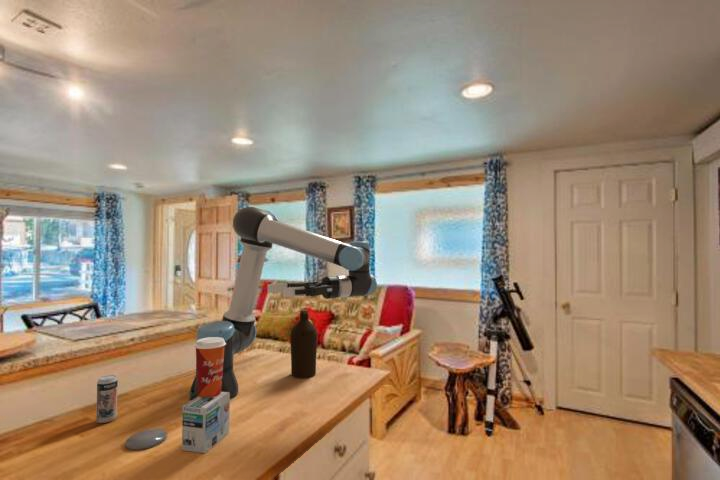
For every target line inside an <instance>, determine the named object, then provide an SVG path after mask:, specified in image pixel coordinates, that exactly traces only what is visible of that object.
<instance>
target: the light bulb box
mask: <svg viewBox="0 0 720 480" xmlns="http://www.w3.org/2000/svg"><path fill="white" fill-rule="evenodd" d="M230 401H231V399H230V393H229V392H221V393H220V394H219V395H218V396H215V397H211V398H200V397H199V396H198V397H197V398H195V399H193V400H189V401H188V402H186V403H185V404H183V405H182V424H181V426H182V428H181V429H182V430H181V451H186V452H187V451H188V452H194V453H199V454H200V453H201V454H206V453H207V452H208V451H210V450H211V449H212V448H213V447H214V446H215V445H217V444H218V443H219V442H220V441H222V440H223V439H224V438H226V436H228V435H229V434H230V409H231V405H230V404H231V402H230Z"/></svg>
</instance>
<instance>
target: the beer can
mask: <svg viewBox="0 0 720 480" xmlns="http://www.w3.org/2000/svg"><path fill="white" fill-rule="evenodd" d="M118 381H119V380H118V378H117V376H116V375H113V374H112V375H111V374H110V375H105V376H101V377H100V378H99V379H98V381H97V383H96V407H95V408H96V413H95V414H96V415H95V418H96V419H95V421H96V422H95V423H99V424H107V423H110V422H112V421H114V420H115V419H116V418H117V417H118V416H117V414H118V413H117V411H118V384H119V382H118Z"/></svg>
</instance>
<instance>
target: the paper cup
mask: <svg viewBox="0 0 720 480" xmlns="http://www.w3.org/2000/svg"><path fill="white" fill-rule="evenodd" d="M225 345H226V343H225V341H224V339H223V338H221V337H208V338H202V339H199V340H197V341H196V340H195V344H194V348H195V367H196V366H197V387H198V396H199V397H200V398H211V397H215V396H218V395H219V394H220V393H221V387H222V375H223V362H224V348H225Z"/></svg>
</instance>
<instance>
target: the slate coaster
mask: <svg viewBox="0 0 720 480" xmlns="http://www.w3.org/2000/svg"><path fill="white" fill-rule="evenodd" d="M167 437H168V435H167V431H166V430H164V429H162V428H151V429H145V430H142V431H139V432H136V433H134V434H132V435H130V436H129V437H128V438H126V440H125V448H126V450H130V451H144V450H148V449H152V448H154V447H157V446H159V445H160V444H162V443H164V442H165V440H167Z"/></svg>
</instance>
